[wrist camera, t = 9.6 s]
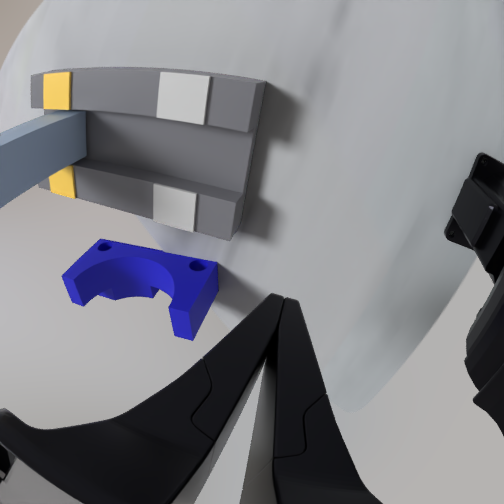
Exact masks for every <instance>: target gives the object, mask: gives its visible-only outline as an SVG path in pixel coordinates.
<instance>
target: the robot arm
mask: <svg viewBox="0 0 504 504" xmlns="http://www.w3.org/2000/svg"><path fill="white" fill-rule="evenodd" d="M483 158H485V162H484V163H483V164H482V163H481V161H482V159H483ZM451 231H454V232H453V234H451V235H449V233H450V232H451ZM444 234H445V236H446V238H447V240H449V241H451V242H454V243H457V244H459V245H462V246H464V247H467V248H469V249H472V250H474V251H475V252H476V254H477V256H478V258H479V259H480V261H481V263H482V265H483V267H484V269H485V271H486V272H487V273H489V275H490V277H491V279H492V281H493V283H494V287H493V289H492V291H491V293H490V295H489V297H488V299H487V301H486V302H485V304H484V306H483V307H482V308H481V309H480V310H479V312H478V314H477V317H476V320H475V321H474V323H473V325H472V326H471V328H470V330H469V333H468V336H467V339H466V349H467V350H466V351H467V357H466V358H465V360H464V362H465V365H466V368H467V371H468V374H469V376H470V378H471V379H472V381H473V383H474V385H475V387H476V388H477V389H478V390H479V392H478V394H477V395H476V396H475V397H474V398H473V402H474V403H475V404H476V405H477V406H479V407H480V408H482V409H483V410H485V411H486V412H487V413H488V414H489V415H490V416H491V417H492V419H494V421H495V422H496V423H497V425H498V426H499V428H500V430H501V432H502V434H503V436H504V164H503V163H502V162H500V161H498V160H496V159H495V158H493V157H491V156H489V155H487V154H485V153H479V154H478V155H477V157H476V159H475V162H474V165H473V167H472V170H471V172H470V175H469V177H468V178H467V179H466V180H465V182H464V184H463V187H462V189H461V191H460V194H459V196H458V198H457V200H456V203H455V205H454V207H453V209H452V216H451V218H450V220H449V222H448V224H447V226H446V228H445V231H444ZM265 360H266V361H265ZM264 362H265V365H264ZM263 365H264V370H263V376H262V382H261V388H260V394H259V400H258V406H257V412H256V418H255V423H254V430H253V435H252V440H251V446H250V451H249V457H248V463H247V468H246V473H245V479H244V483H243V490H242V494H241V499H240V504H383V503H382V502H380V501H379V500H378V499H377V498H376V497H375V496H374V495H373V494H372V493H371V492H370V491H369V490H368V489H367V488H366V487H365V485H364V484H363V482H362V480H361V479H360V477H359V474H358V472H357V470H356V468H355V465H354V463H353V461H352V458H351V456H350V454H349V452H348V449H347V447H346V445H345V442H344V440H343V438H342V435H341V433H340V431H339V428H338V426H337V423H336V421H335V417H334V414H333V411H332V408H331V405H330V402H329V398H328V395H327V394H326V388H325V385H324V382H323V378H322V375H321V372H320V368H319V365H318V362H317V358H316V355H315V352H314V348H313V345H312V342H311V339H310V336H309V332H308V329H307V326H306V323H305V320H304V316H303V313H302V310H301V307H300V304H299V301H298V300H295V299H291V298H288V297H286V298H285V299H284V297H283V296H281V295H277V294H274V293H271V294H270V295H269V296H268V297H266V298H265V299H264V300H263V301H262V302H261V303H260V304H259V305H258V306H257V307H256V308H255V309H254V310H253V311H252V312H251V313H250V314H249V315H248V316H247V317H246V318H244V319H243V320H242V321H241V322H240V323H239V324H238V325H237V326H236V327H235V328H234V329H233V330H232V331H231V332H230V333H229V334H228V335H226V336H225V337H224V338H223V339H222V340H221V341H220V342H219V343H218V344H217V345H216V346H215V347H213V348H212V349H211V350H210V351H209V352H208V353H207V354H206V355H205V356H204V357H203V359H200V360H199V361H198V362H197V363H196V364H195V365H193V366H192V367H191V368H190V369H189V370H188V371H186V372H185V373H184V374H183V375H181V376H180V377H179V378H178V379H176V380H175V381H173V382H172V383H170V384H169V385H168V386H166V387H165V388H163V389H162V390H160V391H159V392H157V393H156V394H154V395H152V396H151V397H149V398H148V399H146V400H145V401H143V402H142V403H140V404H138V405H137V406H135V407H134V408H132V409H130V410H129V411H127V412H125V413H123V414H121V415H119V416H117V417H114V418H111V419H108V420H103V421H98V422H93V423H88V424H82V425H76V426H70V427H63V428H57V429H37V428H34V427H31V426H29V425H27V424H25V423H24V422H23V421H21V420H20V419H19V418H17V417H16V416H15V415H14V414H13V413H11V412H10V411H9V410H7V409H5V408H3V409H0V504H194V503H195V501H196V499H197V497H198V495H199V493H200V492H201V490H202V488H203V486H204V484H205V482H206V481H207V479H208V477H209V475H210V473H211V471H212V469H213V467H214V465H215V464H216V462H217V460H218V458H219V456H220V454H221V452H222V450H223V448H224V446H225V444H226V442H227V440H228V438H229V436H230V434H231V432H232V430H233V428H234V426H235V424H236V422H237V420H238V418H239V416H240V414H241V412H242V410H243V408H244V406H245V404H246V402H247V400H248V398H249V395H250V393H251V391H252V389H253V387H254V385H255V383H256V380H257V379H258V376H259V374H260V372H261V370H262V367H263Z"/></svg>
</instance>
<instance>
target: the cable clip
mask: <svg viewBox="0 0 504 504" xmlns="http://www.w3.org/2000/svg"><path fill="white" fill-rule="evenodd" d="M62 278H63V281H64V284H65V286H66V289H67V291H68V293H69V296H70V298H71V301H72V302H73V303H75V304H78V305H81V306H85V305H86V304H87V303H88V302H89V301H90V300H91V299H93V298H94V297H95V296H97V295H100V296H103V297H106V298H109V299H112V300H118V299H122V298H126V297H136V296H137V297H149V298H154V296H155V295H156V293H157V292H158V291H159V289H160V290H162V291H164V292H165V293H167V294H168V295H169V296H170V297H171V298H172V302H171V304H170V306H169V312H170V317H171V322H172V327H173V331H174V335H175V336H177V337H181V338H184V339H188V340H192V341H193V340H194V338H195V336H196V334H197V332H198V330H199V328H200V326H201V324H202V322H203V320H204V318H205V316H206V314H207V312H208V310H209V308H210V306H211V304H212V303H213V301H214V299H215V297H216V295H217V293H218V291H219V289H218V266H217V262H214V261H208V260H203V259H198V258H192V257H187V256H182V255H176V254H171V253H166V252H164V251H163V250H158V249H153V248H147V247H142V246H137V245H132V244H127V243H122V242H117V241H111V240H106V239H99V240H98V241H97V242H96V243H95V244H94V245H93V246H92V247H91V248H90V249H89V250H88V251H87V252H85V253H84V254H83V255H82V256H81V257H80V258H79V259H78V260H77V261H76V262H75V263H74V264H73V265H72V266H71V267H70V268H69V269H68V270H67V271H66V272H65V273H64V274H63V275H62Z"/></svg>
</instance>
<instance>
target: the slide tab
mask: <svg viewBox="0 0 504 504" xmlns="http://www.w3.org/2000/svg"><path fill="white" fill-rule="evenodd" d="M85 156H87V150H86V111H78V110H57V111H55V112H52V113H49V114H46V115H43V116H41V117H38V118H35V119H33V120H30V121H28V122H25V123H23V124H20V125H18V126H16V127H13V128H11V129H9V130H6V131H4V132H2V133H0V208H1V207H3V206H4V205H6V204H7V203H8V202H10V201H11V200H13V199H14V198H16V197H17V196H19V195H20V194H22V193H23V192H25V191H27V190H28V189H30V188H31V187H33V186H35V185H36V184H38V183H40V182H41V181H43V180H45V179H46V178H48V177H50V176H51V175H53V174H55V173H56V172H58V171H60V170H62V169H63V168H65V167H67V166H69V165H71V164H72V163H74V162H76V161H78V160H80V159H82V158H84V157H85Z"/></svg>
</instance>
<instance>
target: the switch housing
mask: <svg viewBox="0 0 504 504" xmlns="http://www.w3.org/2000/svg"><path fill="white" fill-rule="evenodd" d="M265 85H266V81H263V80H257V79H251V78H245V77H239V76H233V75H226V74H218V73H210V72H201V71H191V70H180V69H165V68H143V67H98V68H77V69H63V70H52V71H48V72H43V73H39V74H35V75H31V108H44V115H46V114H49V113H52V112H55V111H57V110H78V111H86V150H87V156H85V157H84V158H82V159H80V160H78V161H76V162H74V163H72V164H71V165H69V166H67V167H65V168H63V169H62V170H60V171H58V172H56V173H55V174H53V175H51V176H50V177H48V178H46V179H45V180H43V181H41V182H40V183H38V185H39V188H43V189H47V190H50V191H51V192H52V193H56V194H59V195H63V196H66V197H70V198H73V199H75V198H79V199H82V200H86V201H89V202H93V203H97V204H100V205H104V206H107V207H111V208H115V209H118V210H122V211H125V212H129V213H132V214H136V215H139V216H143V217H146V218H150V219H153V221H154V222H158V223H161V224H165V225H168V226H172V227H175V228H179V229H182V230H186V231H189V232H194V231H196V232H199V233H203V234H206V235H210V236H213V237H217V238H220V239H224V240H227V241H230V240H231V239H232V237H233V235H234V233H235V232H236V230H237V228H238V227H239V225H240V223H241V218H242V212H243V206H244V201H245V195H246V189H247V184H248V178H249V172H250V167H251V161H252V156H253V150H254V144H255V139H256V133H257V128H258V123H259V117H260V112H261V106H262V101H263V96H264V90H265Z"/></svg>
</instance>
